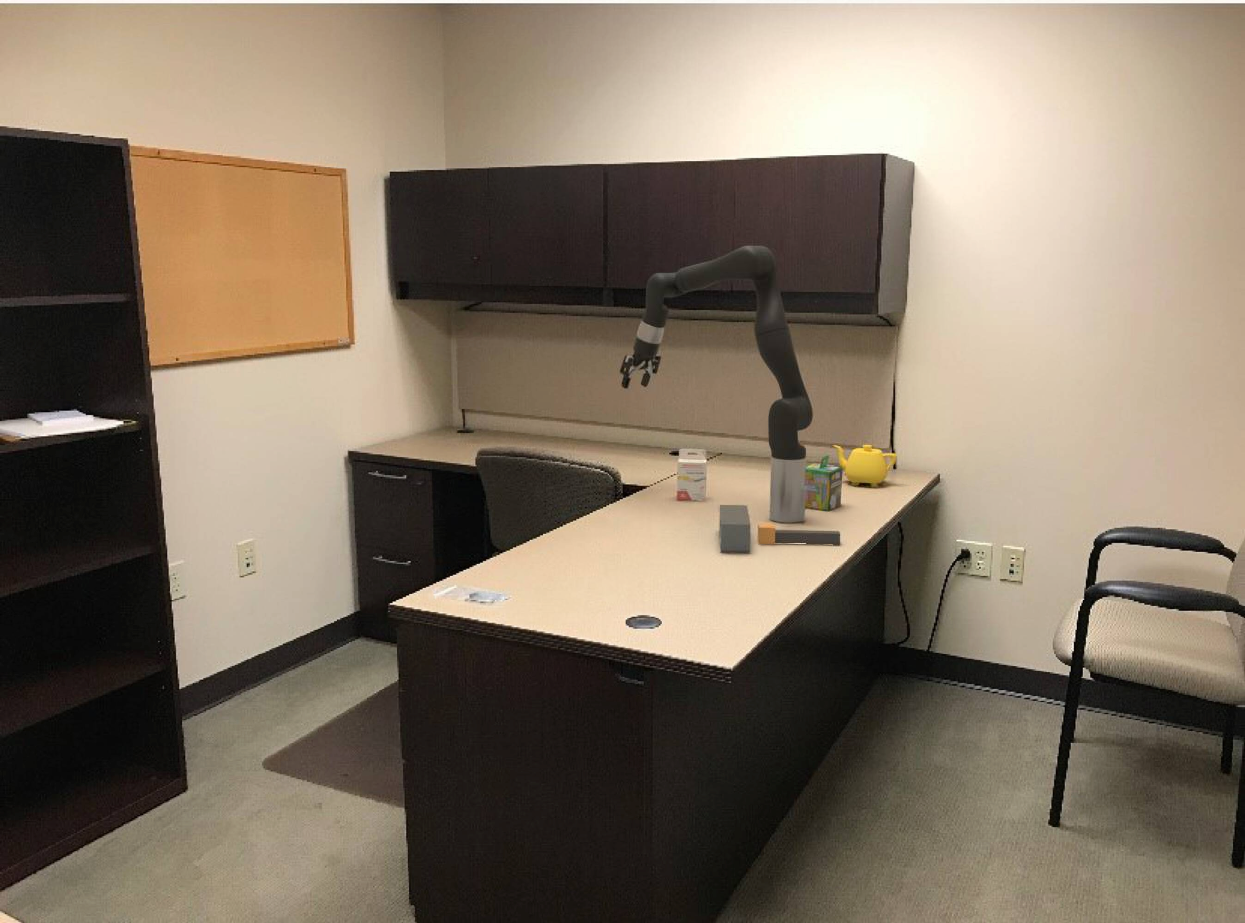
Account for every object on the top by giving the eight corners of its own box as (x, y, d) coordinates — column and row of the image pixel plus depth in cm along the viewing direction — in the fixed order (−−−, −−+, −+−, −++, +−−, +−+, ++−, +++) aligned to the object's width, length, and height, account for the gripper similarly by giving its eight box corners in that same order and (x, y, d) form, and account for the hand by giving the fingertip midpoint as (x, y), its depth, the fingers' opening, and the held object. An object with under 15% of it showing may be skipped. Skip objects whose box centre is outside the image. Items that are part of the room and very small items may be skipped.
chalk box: (812, 501, 299) (814, 451, 296) (841, 505, 294) (844, 454, 291) (798, 507, 291) (800, 456, 288) (829, 511, 286) (831, 459, 283)
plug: (837, 541, 255) (838, 524, 255) (840, 546, 251) (841, 529, 250) (757, 539, 257) (758, 523, 256) (758, 544, 253) (759, 527, 252)
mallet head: (746, 531, 265) (746, 505, 263) (749, 552, 245) (750, 524, 244) (719, 530, 265) (719, 504, 264) (720, 552, 246) (721, 524, 244)
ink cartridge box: (676, 500, 299) (677, 451, 296) (677, 496, 304) (677, 448, 301) (705, 501, 298) (706, 452, 295) (706, 497, 303) (707, 448, 300)
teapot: (834, 477, 332) (835, 439, 330) (897, 481, 325) (899, 443, 323) (828, 485, 320) (829, 446, 317) (893, 490, 313) (895, 450, 311)
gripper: (641, 343, 295) (626, 393, 302) (673, 341, 305) (658, 390, 312) (624, 333, 299) (609, 383, 306) (656, 331, 310) (641, 380, 316)
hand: (634, 386), depth 309 cm, fingers open, 8 cm apart
